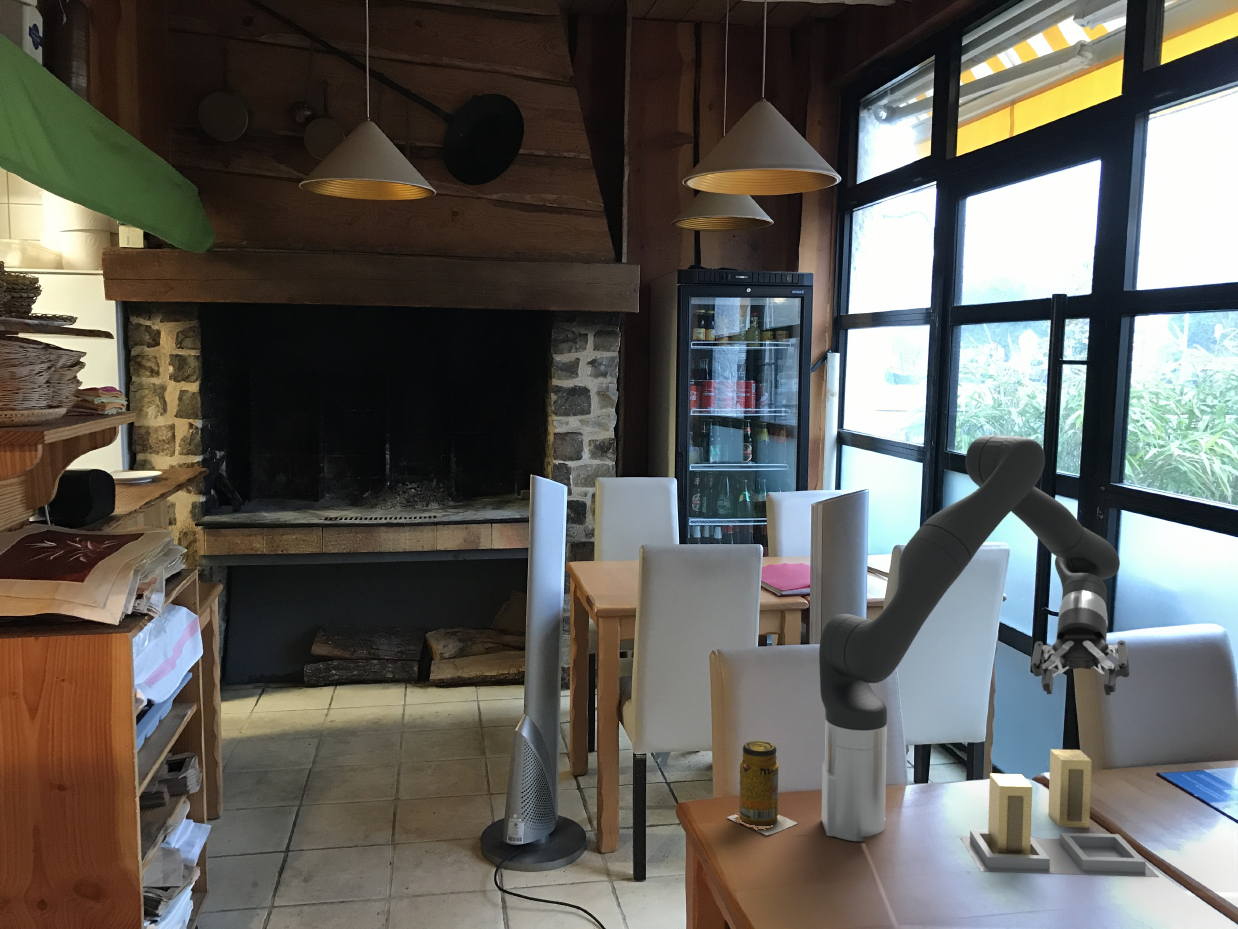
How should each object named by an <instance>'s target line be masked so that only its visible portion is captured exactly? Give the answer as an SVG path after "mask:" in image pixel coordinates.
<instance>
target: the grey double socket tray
mask: <svg viewBox="0 0 1238 929" xmlns="http://www.w3.org/2000/svg"><path fill="white" fill-rule="evenodd" d="M969 832H970V833H969V835H959V838H960V840H961V842H962V843H963V845H964V846H965V848H966V850H967V852H968V853H969V855H970V856H971V858H972V859H973V861H974V862H975V864H976V865H977V868H978V869H979V870H980V872H982V873H987V872H988V873H1012V874H1013V873H1014V874H1015V873H1016V874H1047V875H1049V874H1050V875H1078V876H1079V875H1080V876H1081V875H1082V876H1109V877H1139V878H1140V877H1143V878H1146V877H1147V878H1159V877H1160V876H1159V875H1158V874H1157V873H1156V872H1155V871H1154V870H1153V869H1152V868H1151V867H1150V866H1149V865H1148V864H1147V862H1146V860H1145V859H1144V858H1143V857H1142V856H1141V855H1140V854H1139V853H1138V852H1137V851H1136V850H1135V849H1134V848H1133V847H1132V846H1131V845H1130V844H1129V843H1128V842H1127V841H1126V839H1124V838H1123V837H1122V836H1121V835H1120V834H1118V833H1090V832H1089V833H1084V832H1083V833H1082V832H1081V833H1080V832H1059V838H1050V837H1049V838H1048V837H1047V838H1046V837H1043V838H1041V837H1033V835H1032V834H1031V844H1030V855H1015V854H993V853H992V852H991V850H990V849H989V847H988V830H977V829H975V830H974V829H971V830H969Z"/></svg>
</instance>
